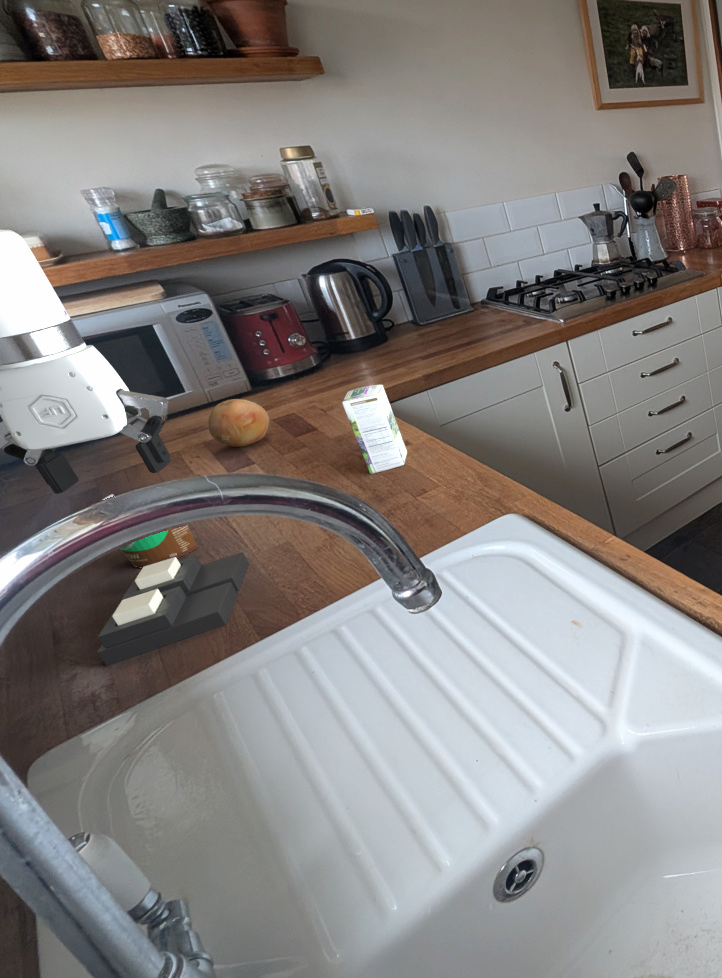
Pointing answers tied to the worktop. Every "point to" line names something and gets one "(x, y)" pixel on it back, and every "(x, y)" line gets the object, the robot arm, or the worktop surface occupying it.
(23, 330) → the robot arm
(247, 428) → the onion
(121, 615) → the key front
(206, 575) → the key block
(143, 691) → the worktop surface
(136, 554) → the food container
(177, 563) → the key rear
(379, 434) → the syrup box
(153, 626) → the key block
